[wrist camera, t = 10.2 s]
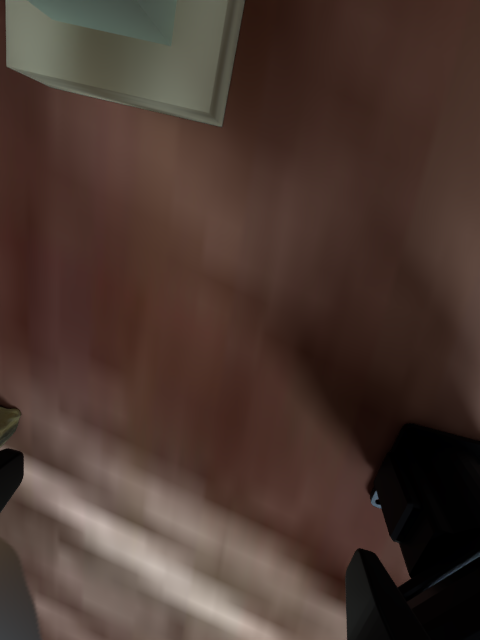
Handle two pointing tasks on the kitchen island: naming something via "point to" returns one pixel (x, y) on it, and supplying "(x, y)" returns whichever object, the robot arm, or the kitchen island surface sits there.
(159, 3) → the block
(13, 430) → the rock
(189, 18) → the plinth
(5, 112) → the kitchen island surface
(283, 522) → the kitchen island surface
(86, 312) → the kitchen island surface
